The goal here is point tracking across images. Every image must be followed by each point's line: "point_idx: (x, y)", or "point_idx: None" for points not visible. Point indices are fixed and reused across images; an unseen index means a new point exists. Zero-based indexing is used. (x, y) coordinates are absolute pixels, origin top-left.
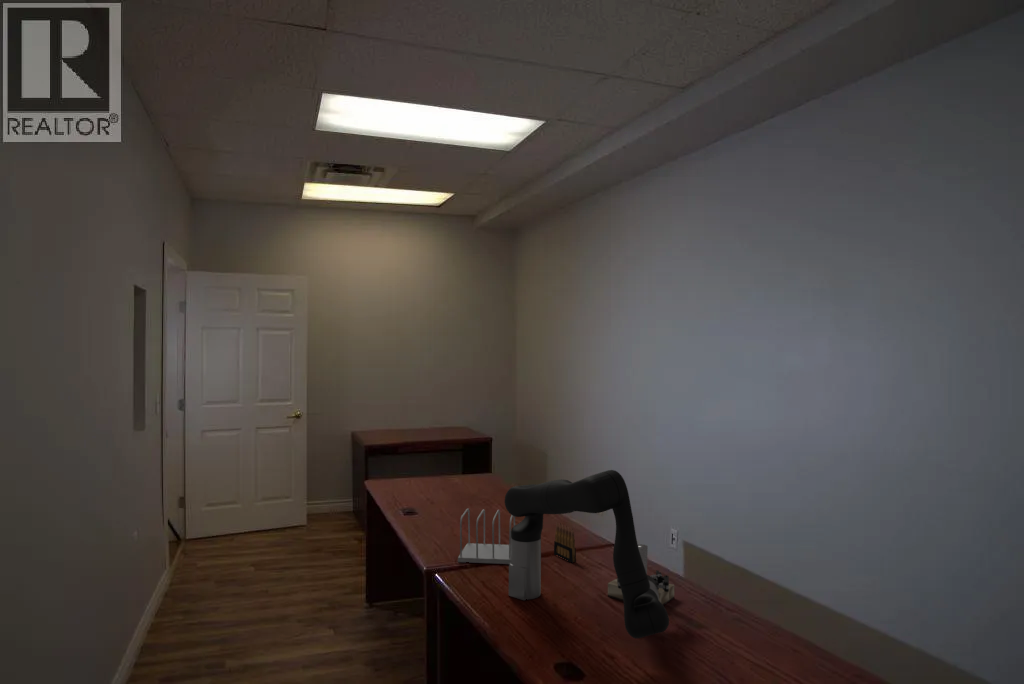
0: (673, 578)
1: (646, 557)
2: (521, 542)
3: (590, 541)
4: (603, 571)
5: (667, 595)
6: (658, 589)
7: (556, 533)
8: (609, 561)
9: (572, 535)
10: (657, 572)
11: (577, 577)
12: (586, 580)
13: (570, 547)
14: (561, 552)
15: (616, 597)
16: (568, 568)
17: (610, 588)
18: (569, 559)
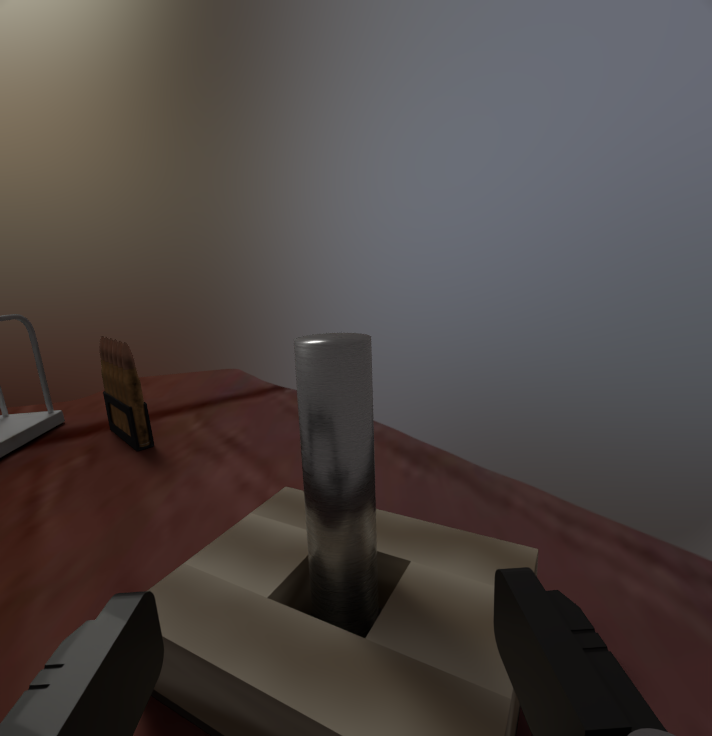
0: (464, 467)
1: (367, 414)
2: None
3: (241, 384)
4: (223, 471)
5: None
6: (467, 632)
7: (103, 368)
8: (262, 429)
9: (126, 365)
10: (552, 638)
11: (93, 520)
12: (118, 534)
13: (127, 404)
14: (118, 421)
15: (177, 705)
16: (103, 475)
17: None
18: (131, 440)
